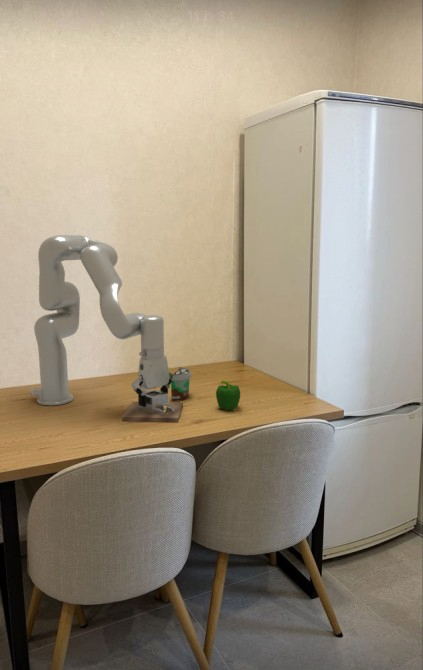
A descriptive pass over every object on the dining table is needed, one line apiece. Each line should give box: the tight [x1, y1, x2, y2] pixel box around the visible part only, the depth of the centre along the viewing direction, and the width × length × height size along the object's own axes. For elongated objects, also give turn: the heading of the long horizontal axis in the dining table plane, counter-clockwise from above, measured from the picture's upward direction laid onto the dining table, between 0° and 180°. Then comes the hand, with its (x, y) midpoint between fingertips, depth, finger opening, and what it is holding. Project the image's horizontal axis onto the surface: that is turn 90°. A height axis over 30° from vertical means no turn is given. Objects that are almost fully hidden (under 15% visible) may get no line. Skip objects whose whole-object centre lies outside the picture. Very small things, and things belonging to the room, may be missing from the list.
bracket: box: [139, 388, 175, 416], centre depth 176 cm, size 11×7×6 cm, turn 47°
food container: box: [170, 366, 192, 402], centre depth 195 cm, size 12×6×10 cm, turn 168°
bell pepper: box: [215, 379, 241, 411], centre depth 182 cm, size 8×8×10 cm
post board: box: [121, 394, 184, 423], centre depth 177 cm, size 18×16×6 cm
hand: (153, 402), depth 177 cm, fingers open, 9 cm apart
